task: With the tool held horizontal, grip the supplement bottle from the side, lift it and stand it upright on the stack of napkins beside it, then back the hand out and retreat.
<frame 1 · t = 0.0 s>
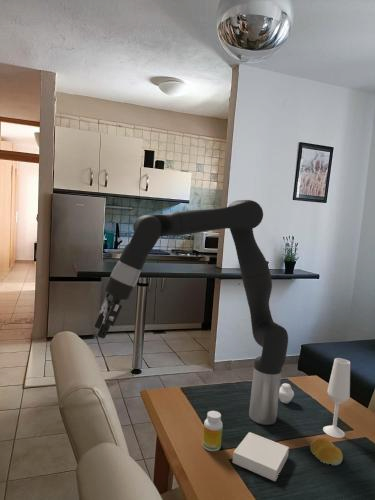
hand: (98, 332, 101), 31 cm above the table, tool tilted 20°, fingers open, 8 cm apart
supplement bottle: (211, 446, 105), on the table
stack of napkins: (260, 459, 100), on the table
champagne flute: (333, 432, 118), on the table
bread roll: (325, 456, 105), on the table
white lumpy ovoid: (284, 401, 136), on the table
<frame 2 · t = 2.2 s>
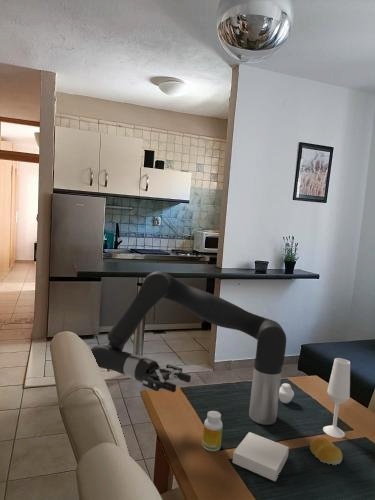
hand: (183, 383, 109), 15 cm above the table, tool horizontal, fingers open, 8 cm apart
nothing on the table moved.
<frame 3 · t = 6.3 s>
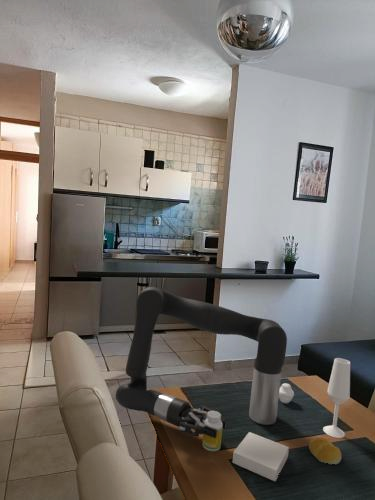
hand: (221, 429, 103), 6 cm above the table, tool horizontal, fingers closed on supplement bottle, 5 cm apart
supplement bottle: (211, 446, 105), on the table, touching gripper
everything else where it was.
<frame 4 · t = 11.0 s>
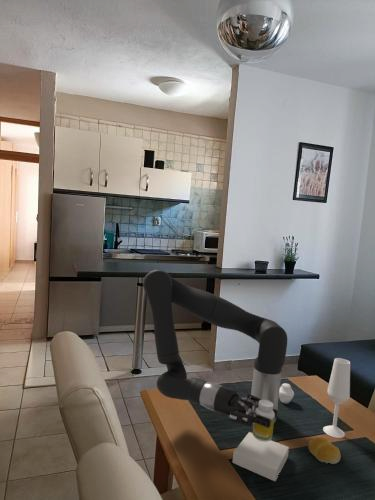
hand: (273, 418, 98), 13 cm above the table, tool horizontal, fingers closed on supplement bottle, 5 cm apart
supplement bottle: (262, 436, 100), point 7 cm above the table, touching gripper
everything else where it was.
when the fingers open (11 cm above the table, at t = 12.1 s): supplement bottle drops 2 cm, resting on stack of napkins.
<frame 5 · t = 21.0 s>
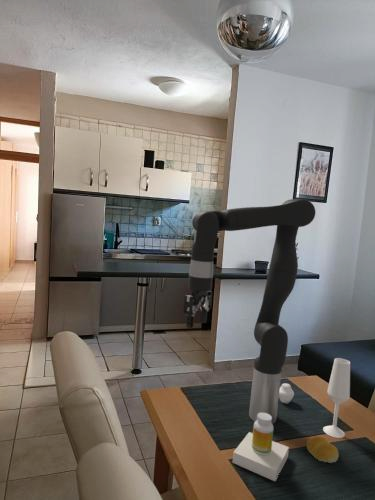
hand: (196, 324, 115), 32 cm above the table, tool pointing down, fingers open, 8 cm apart
supplement bottle: (261, 450, 100), point 3 cm above the table, touching stack of napkins
at the end: supplement bottle inside the target area on the stack of napkins (0.1 cm from its centre), point 2.8 cm above the stack of napkins's base; supplement bottle tilted 0°; the gripper is holding nothing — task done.
